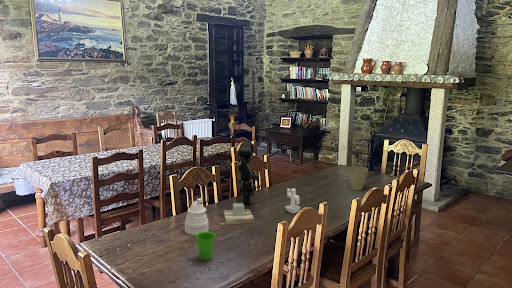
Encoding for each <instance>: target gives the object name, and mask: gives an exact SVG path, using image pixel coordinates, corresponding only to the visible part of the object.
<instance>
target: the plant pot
mask: <svg viewBox="0 0 512 288" xmlns="http://www.w3.org/2000/svg"><path fill="white" fill-rule="evenodd" d="M368 172H369V168H367V167H364V166H349V167H347V176H348V180H349V185H350V188H351V190H353V191H362V190H363V187H364V185H365V182H366V179H367V176H368Z"/></svg>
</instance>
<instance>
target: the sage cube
mask: <svg viewBox="0 0 512 288" xmlns="http://www.w3.org/2000/svg"><path fill="white" fill-rule="evenodd" d="M244 209H245V205H244V204H243V203H241V202H234V203H232V210H233V215H234V217H235V216H244Z"/></svg>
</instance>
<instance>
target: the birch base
mask: <svg viewBox="0 0 512 288" xmlns="http://www.w3.org/2000/svg"><path fill="white" fill-rule="evenodd" d="M223 217H224V221H225V223H226V225H235V224H236V225H240V224H254V223H255V218H254V216H253V214H252V211H251V209H248V208H247V209H245V208H244V216H235V217H234V215H233V209H224V210H223Z"/></svg>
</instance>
